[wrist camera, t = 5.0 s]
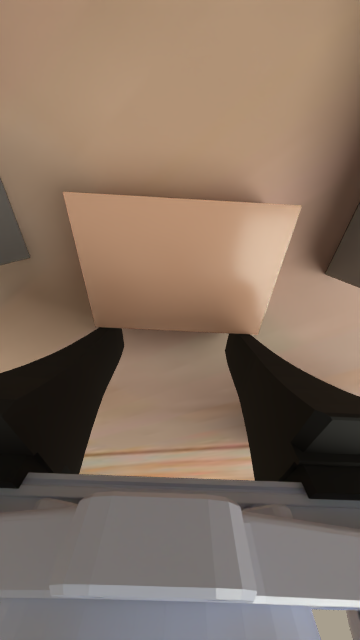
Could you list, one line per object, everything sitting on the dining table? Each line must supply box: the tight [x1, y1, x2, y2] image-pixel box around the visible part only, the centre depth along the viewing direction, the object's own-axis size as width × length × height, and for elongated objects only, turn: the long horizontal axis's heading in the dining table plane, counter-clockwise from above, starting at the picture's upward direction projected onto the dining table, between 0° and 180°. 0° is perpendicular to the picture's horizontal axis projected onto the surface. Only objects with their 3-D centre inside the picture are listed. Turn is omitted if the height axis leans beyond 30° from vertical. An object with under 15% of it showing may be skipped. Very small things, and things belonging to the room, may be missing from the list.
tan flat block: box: [63, 192, 302, 335], centre depth 9 cm, size 6×9×3 cm, turn 87°
